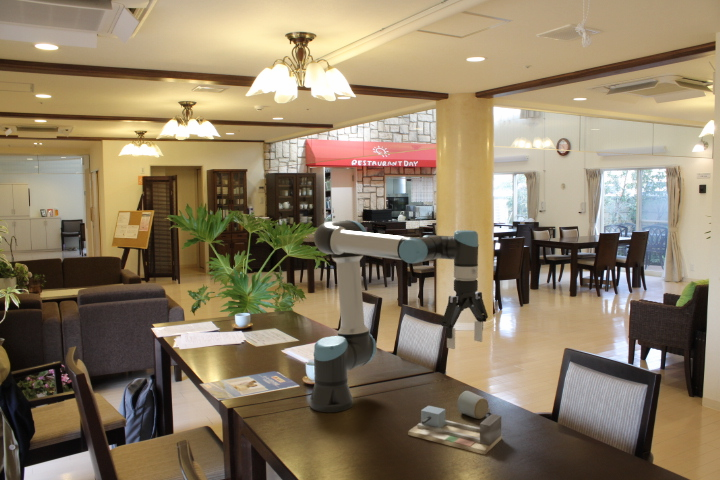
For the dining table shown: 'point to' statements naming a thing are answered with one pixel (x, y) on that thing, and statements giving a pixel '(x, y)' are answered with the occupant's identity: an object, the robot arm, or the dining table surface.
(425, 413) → the carriage
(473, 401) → the ceramic mug
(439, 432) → the gauge base
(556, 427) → the dining table surface
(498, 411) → the dining table surface
